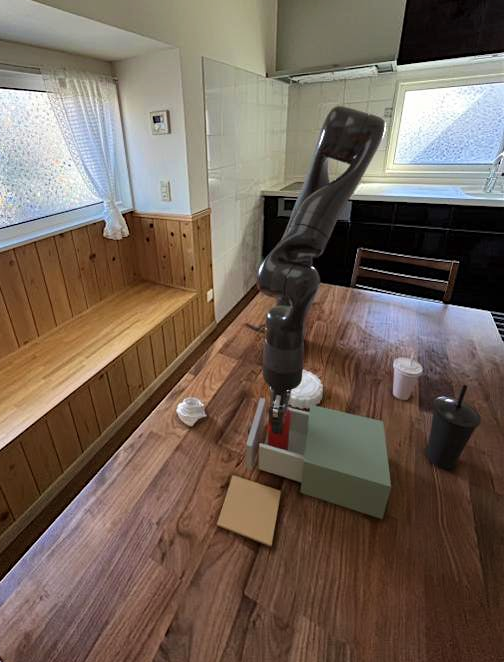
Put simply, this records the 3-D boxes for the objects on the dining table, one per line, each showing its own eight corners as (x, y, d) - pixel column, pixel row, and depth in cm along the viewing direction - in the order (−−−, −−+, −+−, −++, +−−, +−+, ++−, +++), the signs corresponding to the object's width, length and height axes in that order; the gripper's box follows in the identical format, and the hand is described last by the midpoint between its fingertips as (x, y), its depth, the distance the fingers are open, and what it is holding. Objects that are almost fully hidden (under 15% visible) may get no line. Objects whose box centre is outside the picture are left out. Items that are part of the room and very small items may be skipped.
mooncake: (291, 371, 99) (292, 361, 97) (330, 391, 91) (331, 380, 89) (267, 393, 91) (268, 382, 90) (307, 417, 83) (308, 406, 82)
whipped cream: (172, 417, 86) (168, 403, 84) (190, 400, 90) (186, 386, 88) (194, 432, 81) (191, 417, 79) (212, 413, 85) (209, 399, 83)
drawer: (240, 467, 71) (240, 443, 68) (255, 419, 82) (255, 396, 79) (313, 490, 66) (316, 465, 63) (317, 435, 77) (320, 412, 74)
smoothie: (418, 405, 85) (431, 360, 79) (391, 402, 86) (401, 358, 80) (409, 387, 90) (420, 344, 85) (384, 384, 92) (393, 342, 86)
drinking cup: (411, 445, 75) (431, 374, 67) (443, 441, 75) (468, 370, 67) (436, 478, 68) (462, 403, 60) (471, 473, 68) (502, 398, 60)
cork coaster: (217, 525, 62) (216, 524, 61) (232, 476, 70) (232, 474, 70) (271, 547, 58) (271, 545, 58) (281, 492, 67) (281, 490, 66)
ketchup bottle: (263, 446, 74) (265, 405, 69) (275, 434, 77) (277, 394, 72) (280, 459, 71) (283, 417, 66) (292, 445, 74) (295, 404, 69)
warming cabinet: (300, 492, 66) (303, 461, 63) (307, 433, 79) (310, 404, 75) (382, 519, 61) (391, 486, 58) (376, 451, 74) (383, 421, 70)
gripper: (270, 334, 71) (268, 395, 78) (255, 379, 59) (253, 446, 66) (307, 340, 69) (301, 403, 76) (298, 388, 57) (292, 458, 64)
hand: (279, 423), depth 71 cm, fingers closed on ketchup bottle, 4 cm apart
